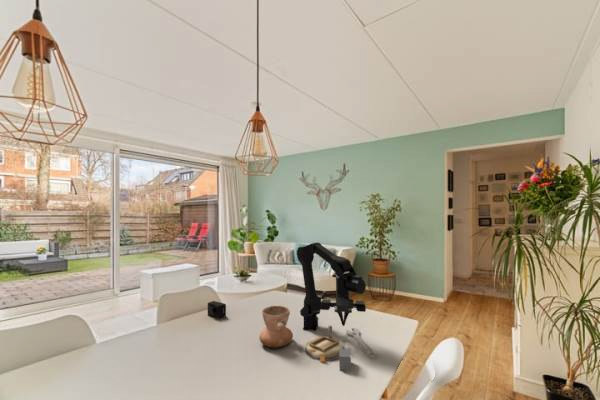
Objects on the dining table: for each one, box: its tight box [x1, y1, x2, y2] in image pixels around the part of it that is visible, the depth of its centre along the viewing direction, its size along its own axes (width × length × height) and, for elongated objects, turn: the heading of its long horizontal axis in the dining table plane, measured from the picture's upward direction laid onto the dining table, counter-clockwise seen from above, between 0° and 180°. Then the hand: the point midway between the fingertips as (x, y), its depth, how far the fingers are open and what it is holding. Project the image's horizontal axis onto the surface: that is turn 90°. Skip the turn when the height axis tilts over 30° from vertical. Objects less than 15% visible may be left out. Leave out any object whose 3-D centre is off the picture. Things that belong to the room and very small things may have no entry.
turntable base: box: [304, 347, 339, 363], centre depth 111 cm, size 16×17×2 cm
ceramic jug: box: [259, 305, 294, 349], centre depth 120 cm, size 18×14×14 cm
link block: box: [338, 347, 352, 372], centre depth 100 cm, size 4×6×5 cm, turn 170°
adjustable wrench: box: [345, 327, 377, 359], centre depth 118 cm, size 25×6×2 cm, turn 6°
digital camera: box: [207, 300, 227, 320], centre depth 151 cm, size 10×5×7 cm, turn 56°
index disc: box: [305, 325, 344, 359], centre depth 112 cm, size 15×15×6 cm
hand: (343, 325), depth 118 cm, fingers closed
